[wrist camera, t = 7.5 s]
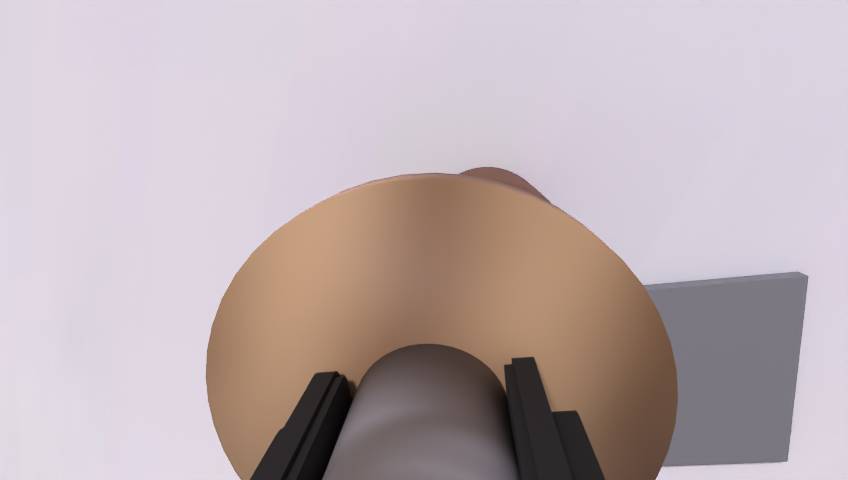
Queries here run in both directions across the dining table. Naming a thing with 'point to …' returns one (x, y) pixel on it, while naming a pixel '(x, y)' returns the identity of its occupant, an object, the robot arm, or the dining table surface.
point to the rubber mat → (733, 365)
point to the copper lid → (440, 333)
